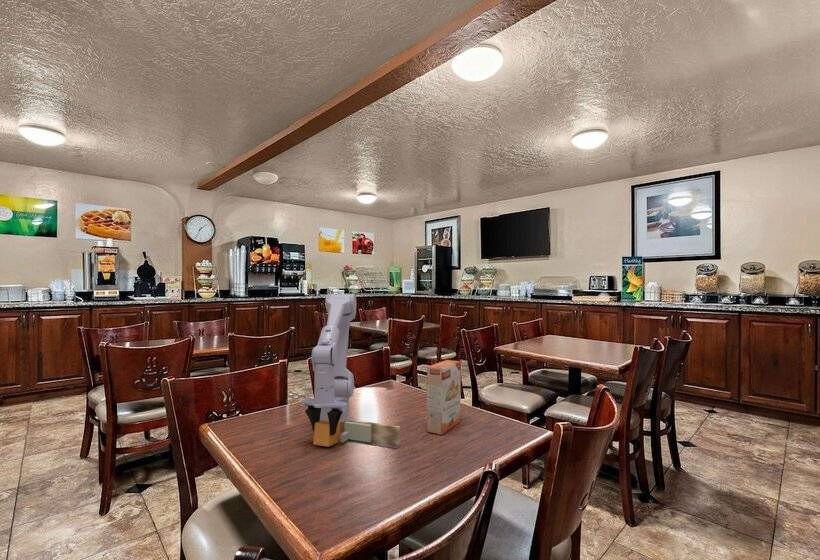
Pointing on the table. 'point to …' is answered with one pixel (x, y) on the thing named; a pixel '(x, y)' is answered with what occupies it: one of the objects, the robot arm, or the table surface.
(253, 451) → the table surface
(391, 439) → the wooden track base
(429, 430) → the cracker box
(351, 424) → the sliding gate
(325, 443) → the block
